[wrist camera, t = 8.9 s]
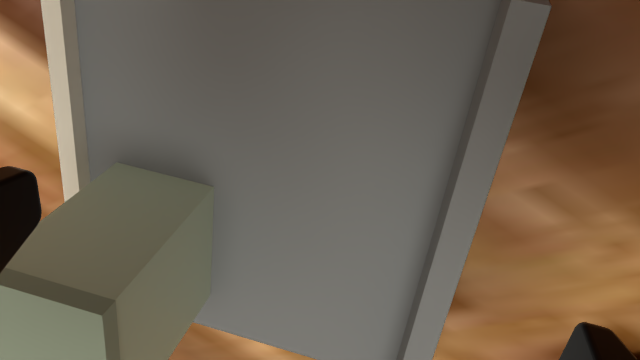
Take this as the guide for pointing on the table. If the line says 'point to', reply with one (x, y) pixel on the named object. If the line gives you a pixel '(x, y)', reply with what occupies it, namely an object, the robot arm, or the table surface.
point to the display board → (305, 147)
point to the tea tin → (111, 271)
